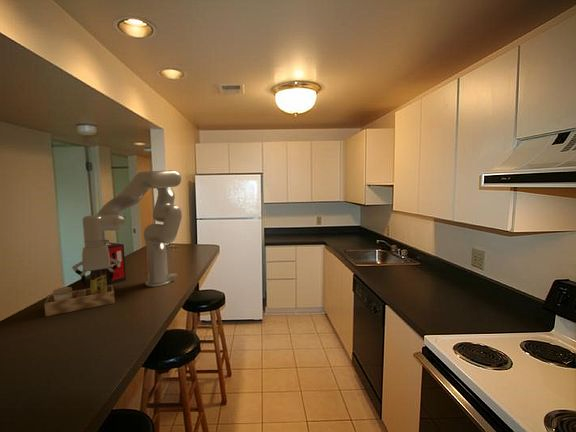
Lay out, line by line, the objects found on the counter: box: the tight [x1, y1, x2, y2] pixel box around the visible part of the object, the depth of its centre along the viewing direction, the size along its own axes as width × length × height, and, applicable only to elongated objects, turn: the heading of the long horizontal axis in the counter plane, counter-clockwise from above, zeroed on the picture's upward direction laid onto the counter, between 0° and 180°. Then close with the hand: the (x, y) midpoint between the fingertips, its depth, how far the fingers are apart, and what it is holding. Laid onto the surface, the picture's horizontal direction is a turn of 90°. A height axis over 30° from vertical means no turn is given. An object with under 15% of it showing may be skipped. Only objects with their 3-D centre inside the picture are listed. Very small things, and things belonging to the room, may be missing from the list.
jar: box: [52, 286, 73, 302], centre depth 124 cm, size 6×6×8 cm
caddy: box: [44, 284, 116, 317], centre depth 127 cm, size 24×11×6 cm, turn 123°
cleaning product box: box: [104, 241, 127, 285], centre depth 161 cm, size 16×9×20 cm, turn 63°
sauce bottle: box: [89, 269, 107, 295], centre depth 130 cm, size 6×6×20 cm
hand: (98, 282), depth 130 cm, fingers open, 9 cm apart
